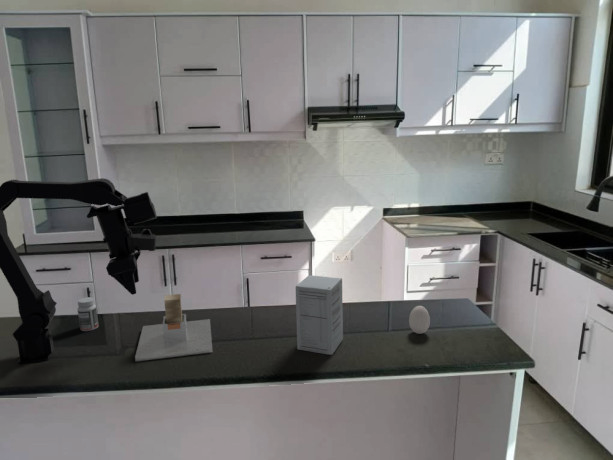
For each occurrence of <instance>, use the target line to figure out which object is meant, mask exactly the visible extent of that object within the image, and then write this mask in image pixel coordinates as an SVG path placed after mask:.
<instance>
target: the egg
mask: <svg viewBox="0 0 613 460" xmlns="http://www.w3.org/2000/svg"><path fill="white" fill-rule="evenodd" d="M408 320H409V321H408V324H409V327H410V329H411V330H412V331H413V332H414V334H415V333H416V334H418V335H421V334H425V332H427V331H428V329H429V327H430V324H431V317H430V313H429V312H428V310H427V308H425V307H424V306H422V305H417V306H414V307H413V309H412V310H411V312H410V314H409V317H408Z"/></svg>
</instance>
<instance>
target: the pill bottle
mask: <svg viewBox="0 0 613 460" xmlns="http://www.w3.org/2000/svg"><path fill="white" fill-rule="evenodd" d="M77 305H78V307H77V315H78V323H79V324H78V325H79V329H80V331H82V332H89V331H94V330H96V329H97V328H99V320H98V319H99V318H98V310H97V305H96V304H95V299H94V297H88V296H87V297H81V298H80V299H78V300H77Z"/></svg>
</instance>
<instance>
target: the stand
mask: <svg viewBox="0 0 613 460" xmlns="http://www.w3.org/2000/svg"><path fill="white" fill-rule="evenodd" d="M182 317H183V322H176V323H166V315H163V318H162V319H163V320H162V323H160V324H152V325H150V324H149V325H142V329H141V333H140V336H139V341H138V345H137V349H136V352H135V355H134V359H135V362H143V361H149V360H151V361H152V360H158V359H159V360H160V359H167V358H175V357H184V356H192V355H201V354H202V355H203V354H209V353H213V352H214V351H213V342H212V341H213V339H212V338H213V337H212V330H211V318H208V319H199V320H190V321H187V314H186V313H182Z"/></svg>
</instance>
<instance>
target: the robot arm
mask: <svg viewBox="0 0 613 460" xmlns="http://www.w3.org/2000/svg"><path fill="white" fill-rule="evenodd" d="M17 199H34V200H35V199H36V200H37V199H38V200H39V199H41V200H46V199H47V200H71V201H77V202H80V203H84V204H88V205H91V206H90V209H89V212H88V213H87V215H86V218H87V219H90V218H94V217H96V218H97V221H98V224H99V227H100V229H101V233H102V235H103V239H102V241H103V243H104V244H105V243H106V246H107V250H108V252H109V254H108V257H109V259H110V260H109V262H108V263H107V264H106V265H107V266H106V267H105V268H106V272H107V274H108V276H110V277H111V278H113V279H114V280H115V281H117V282H118V283H119V284H120V285H121V286H123V288H124V289H125V290H126V291H127V292H128V293H130V294H131V295H135V294H137V287H136V283H139V282H140V279H139V270H138V259H139V257H140V256H141V252H142V250H143V251H148V252H155V251H156V242H157V235H156V234H154V233H152V231H151V229H149V228H143V230H142V231H141V233H133V232H132V230H131V229H130V228H128V225H127V222H128V223H129V222H130V223H132V224H133V225H136V224H141V223H144V222H149V221H152V220H155V219H158V216H157V215H158V214H157V212H156V209H155V205H154V203H153V201H152V198H151V197H150V194H149V192H147V191H145V192H141V193H140V194H137V195H134V196H133V195H132V196H130V197H127V196H126V195H125V194H123V193H121V192H120V191H119V190H118V189H116V186H115V185H114V183H113V182H112V181H111V180H110V179H108V178H103V177H102V178H93V179H88V180H87V179H86V180H81V181H74V182H70V181H69V182H68V181H66V182H65V181H64V182H63V181H42V180H41V181H40V180H39V181H37V180H36V181H35V180H18V179H10V180H7V181H5V182H3V183H2V184H1V185H0V271H1V272H2V273H3V276H4V278H5V280H6V281H7V283H8V285H9V286H10V288H11V289H12V292H13V293H14V295H15V298H16V299H17V305H18V306H17V308H18V314H19V316H20V320H21V322H20V324H19V325H18V326H17V328H16V329H15V330H14V332H13V333H12V336H13V338H14V339H15V341H16V342H17V348H18V349H17V350H18V355H19V359H18V360H17V364H19V365H21V364H27V363H28V364H29V363H35V362H42V361H47V360H49V359H50V357H51V355H52V353H53V352H54V349H55V348H54V347H55V346H54V339H53V334H50V330H49V328H47V327H48V326H49V324H50V323H51V322H52V320H53V318H54V316H55V314H56V310H57V309H56V305H57V304H58V303H57V302H56V301H55V300H54V299H53V297H52V295H51V292H50V290H46V291H45V292H43V291H42V290H40V289H39V288H38V287H37V285H36V284H35V282H34V280H33V278H32V277H31V274H30V273H29V271H28V269H27V267H26V266H25V264H24V262H23V260H22V258H21V257H20V255H19V253H18V251H17V250H16V247H15V245H14V244H13V241H12V240H11V238H10V236H9V234H8V232H9V231H8V225H7V223H8V222H7V220H6V216H5V214H4V211H6V209H8V208H9V207H10V206H11V205H12V204H13V203H14V202H15V201H16V200H17ZM97 206H98V207H97ZM99 206H100V207H99ZM112 206H113V207H112ZM122 210H123V212H122ZM123 213H124V215H123ZM124 216H125V217H124ZM125 218H126V219H125ZM126 220H127V222H126Z"/></svg>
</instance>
